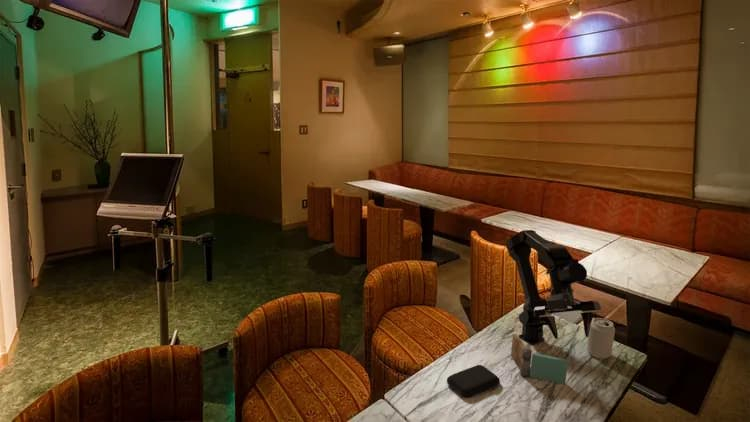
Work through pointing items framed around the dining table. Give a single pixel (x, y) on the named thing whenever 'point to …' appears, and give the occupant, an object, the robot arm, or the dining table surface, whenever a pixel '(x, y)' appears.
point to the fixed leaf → (520, 354)
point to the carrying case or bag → (473, 381)
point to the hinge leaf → (546, 368)
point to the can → (601, 338)
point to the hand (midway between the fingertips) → (571, 337)
